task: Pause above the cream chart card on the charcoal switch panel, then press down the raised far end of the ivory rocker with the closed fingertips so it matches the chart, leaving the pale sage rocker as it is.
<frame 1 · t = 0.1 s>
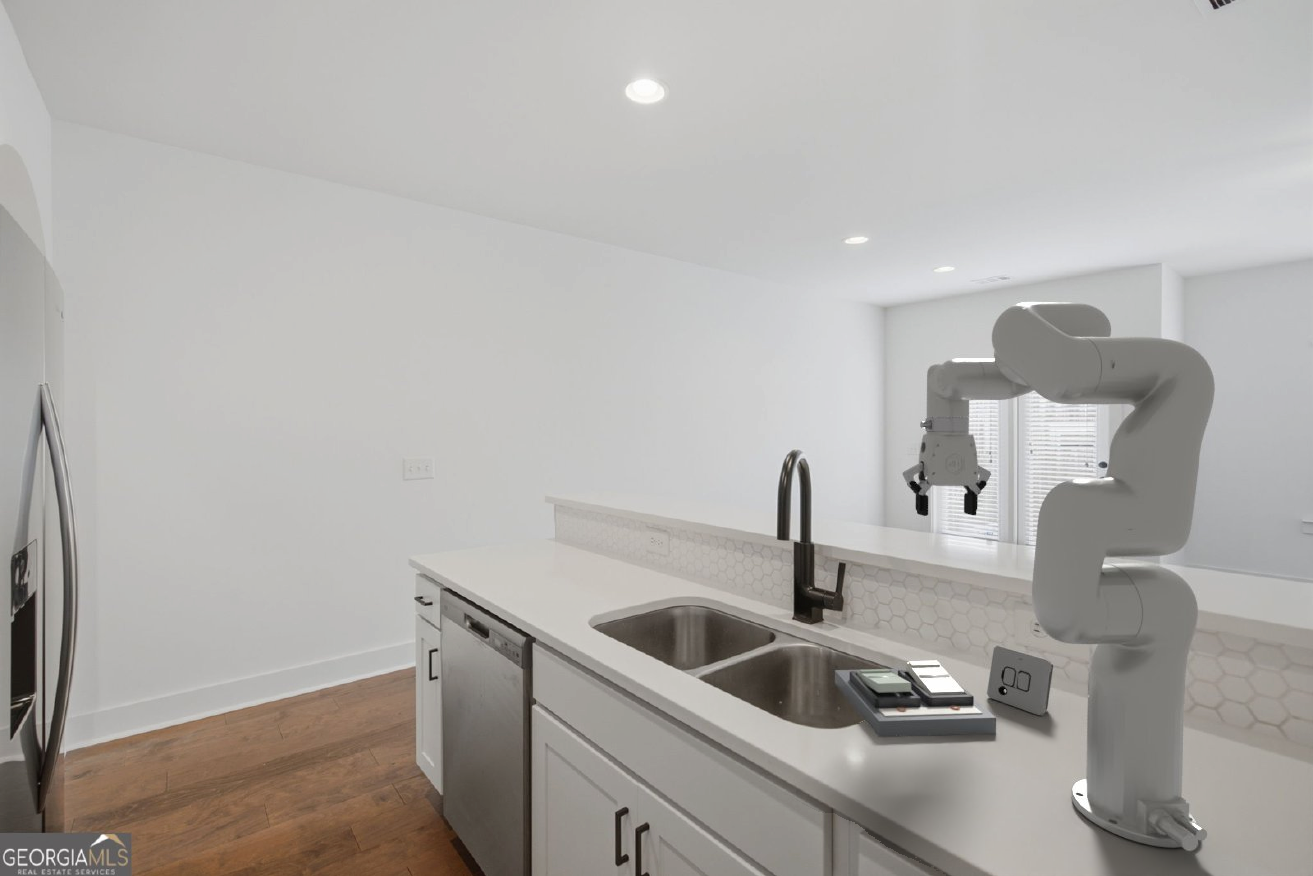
hand: (946, 514, 122), 31 cm above the worktop, tool pointing down, fingers open, 9 cm apart
rocker ivory: (933, 679, 109), point 5 cm above the worktop, hinge at -10.0°
rocker sage: (883, 680, 108), point 5 cm above the worktop, hinge at 10.0°
switch panel: (908, 706, 108), on the worktop
electrical switch: (1019, 704, 110), on the worktop
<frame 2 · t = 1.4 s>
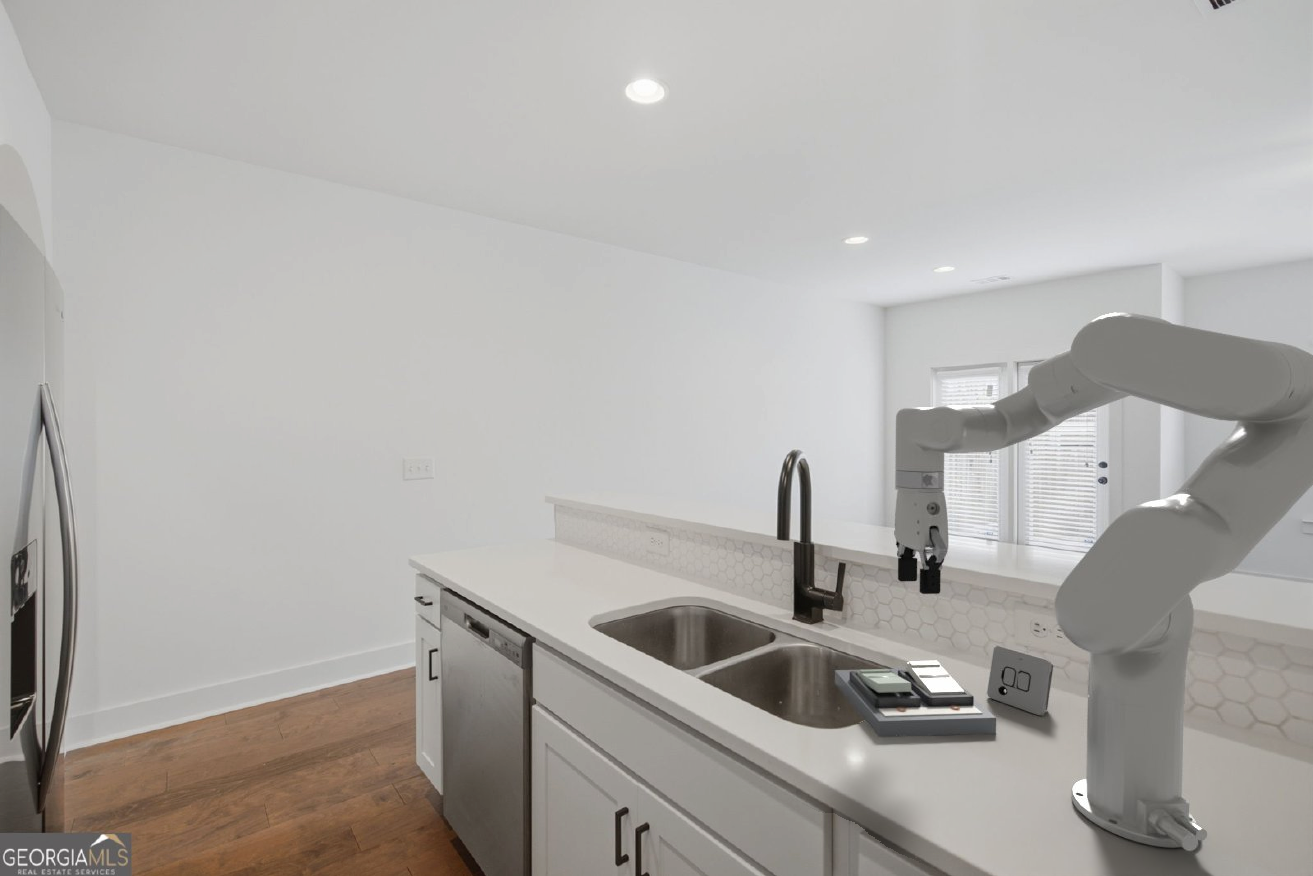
hand: (918, 586, 105), 22 cm above the worktop, tool pointing down, fingers open, 7 cm apart
nothing on the worktop moved.
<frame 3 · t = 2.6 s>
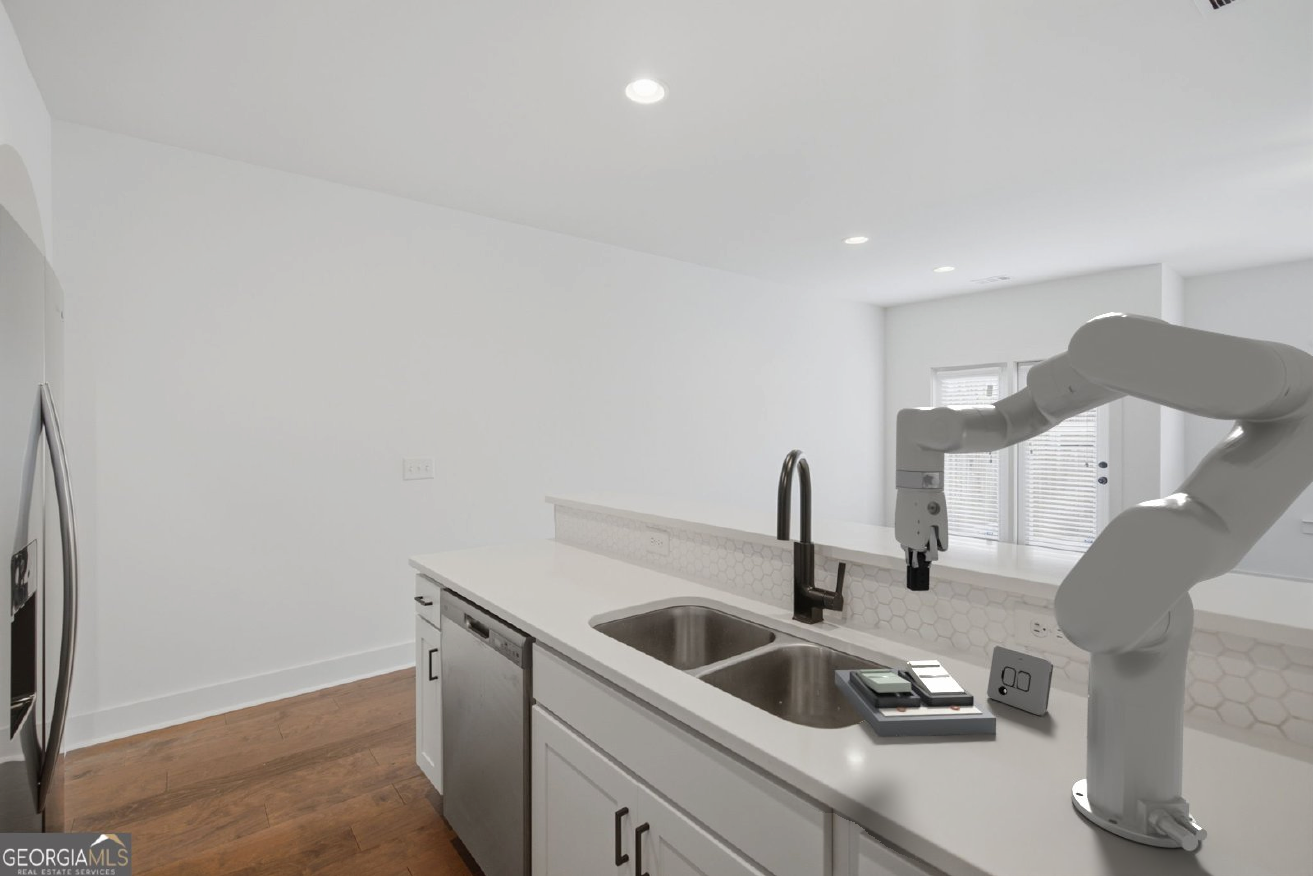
hand: (917, 589, 105), 21 cm above the worktop, tool pointing down, fingers closed
nothing on the worktop moved.
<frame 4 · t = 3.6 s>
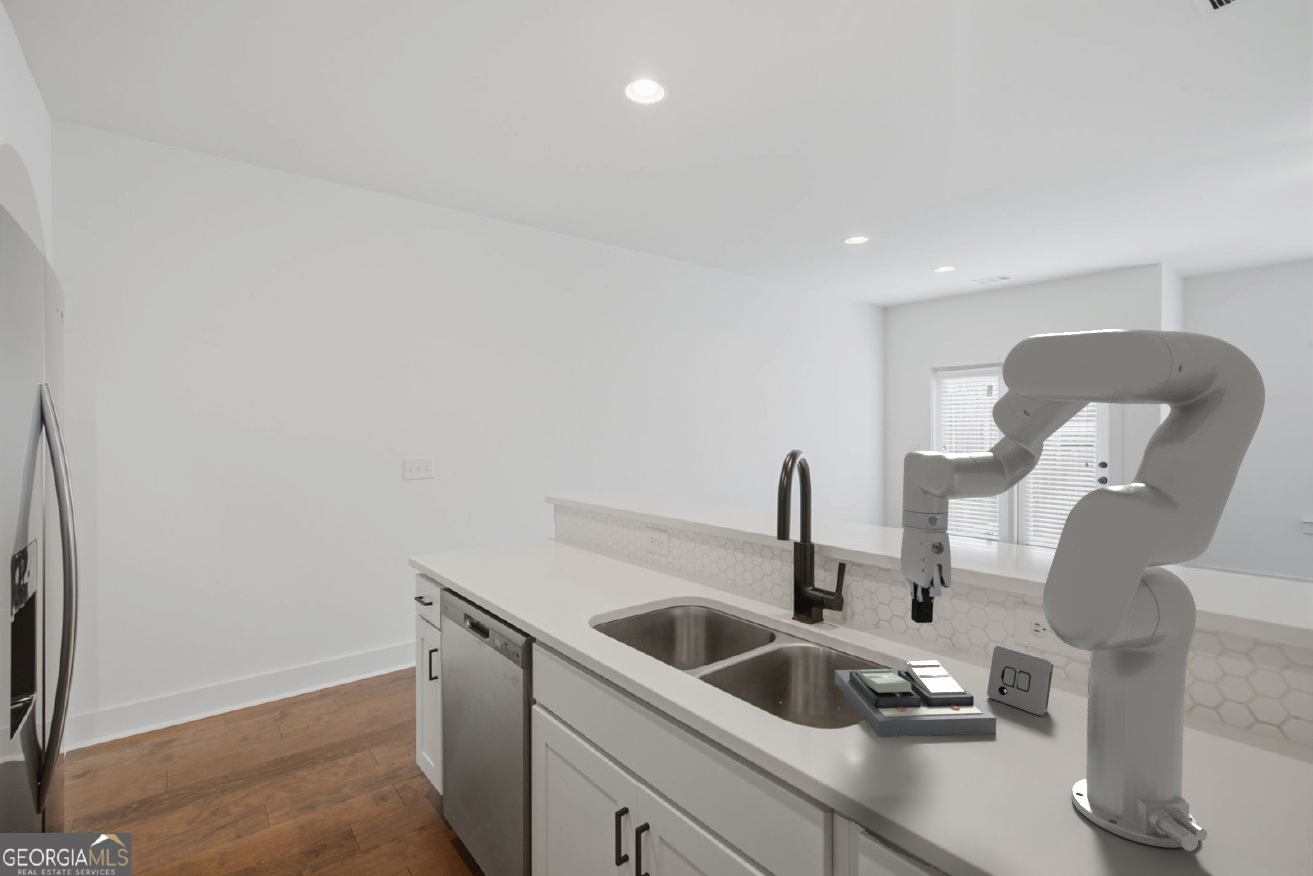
hand: (921, 621, 113), 13 cm above the worktop, tool pointing down, fingers closed
nothing on the worktop moved.
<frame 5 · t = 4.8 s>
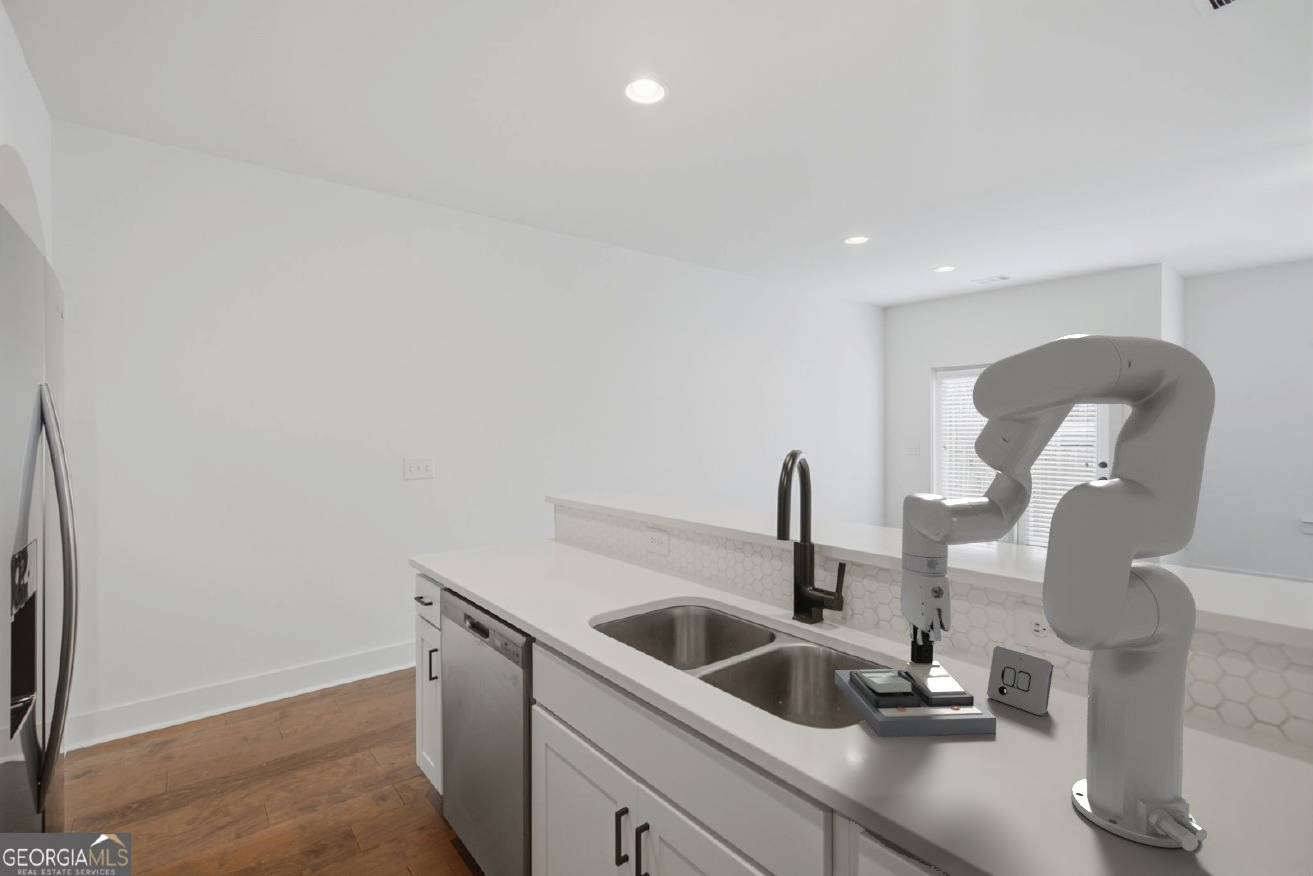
hand: (921, 663, 113), 6 cm above the worktop, tool pointing down, fingers closed
rocker ivory: (933, 679, 109), point 5 cm above the worktop, hinge at -9.0°, touching gripper
everything else where it was.
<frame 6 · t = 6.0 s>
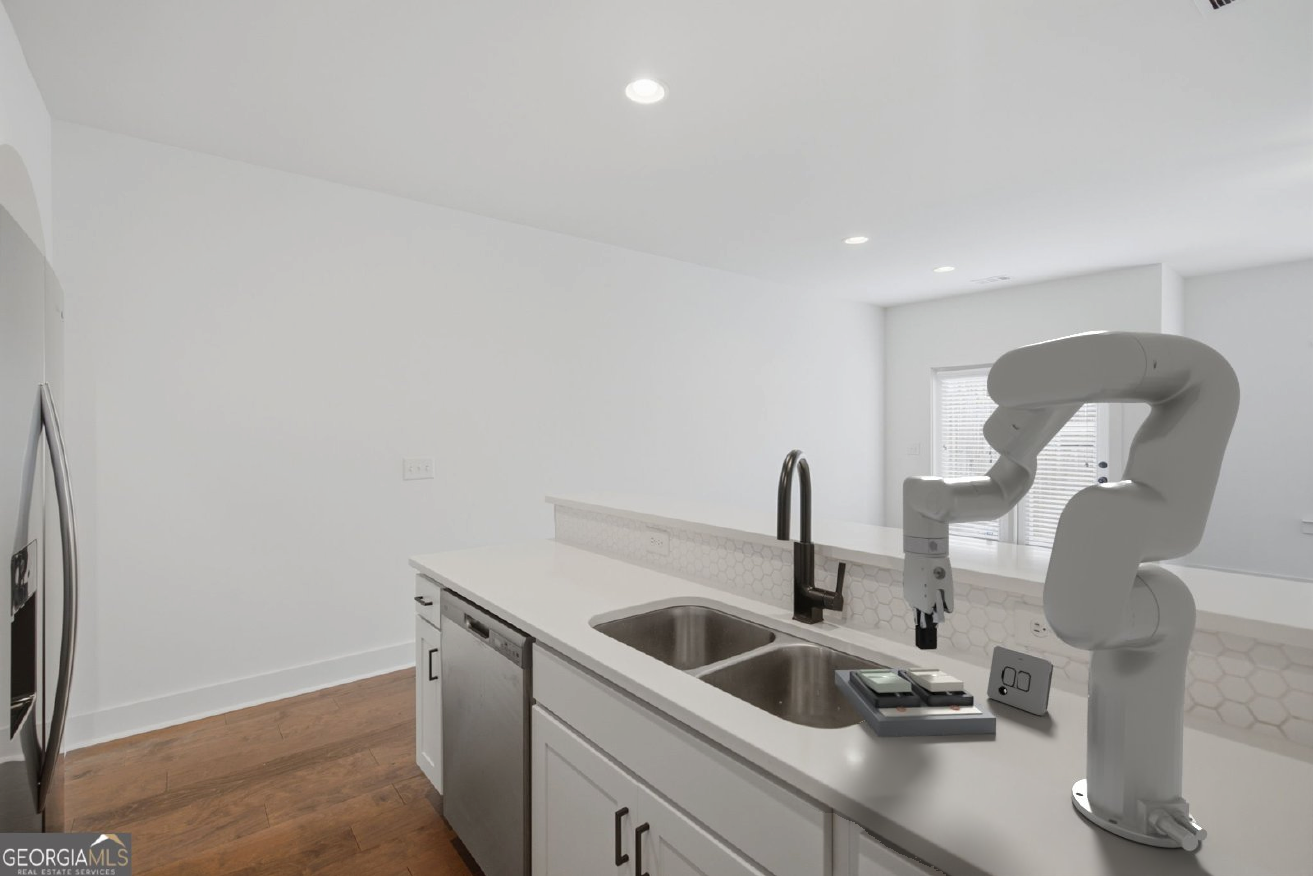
hand: (926, 647, 112), 9 cm above the worktop, tool pointing down, fingers closed
rocker ivory: (933, 679, 109), point 5 cm above the worktop, hinge at 8.6°
everything else where it was.
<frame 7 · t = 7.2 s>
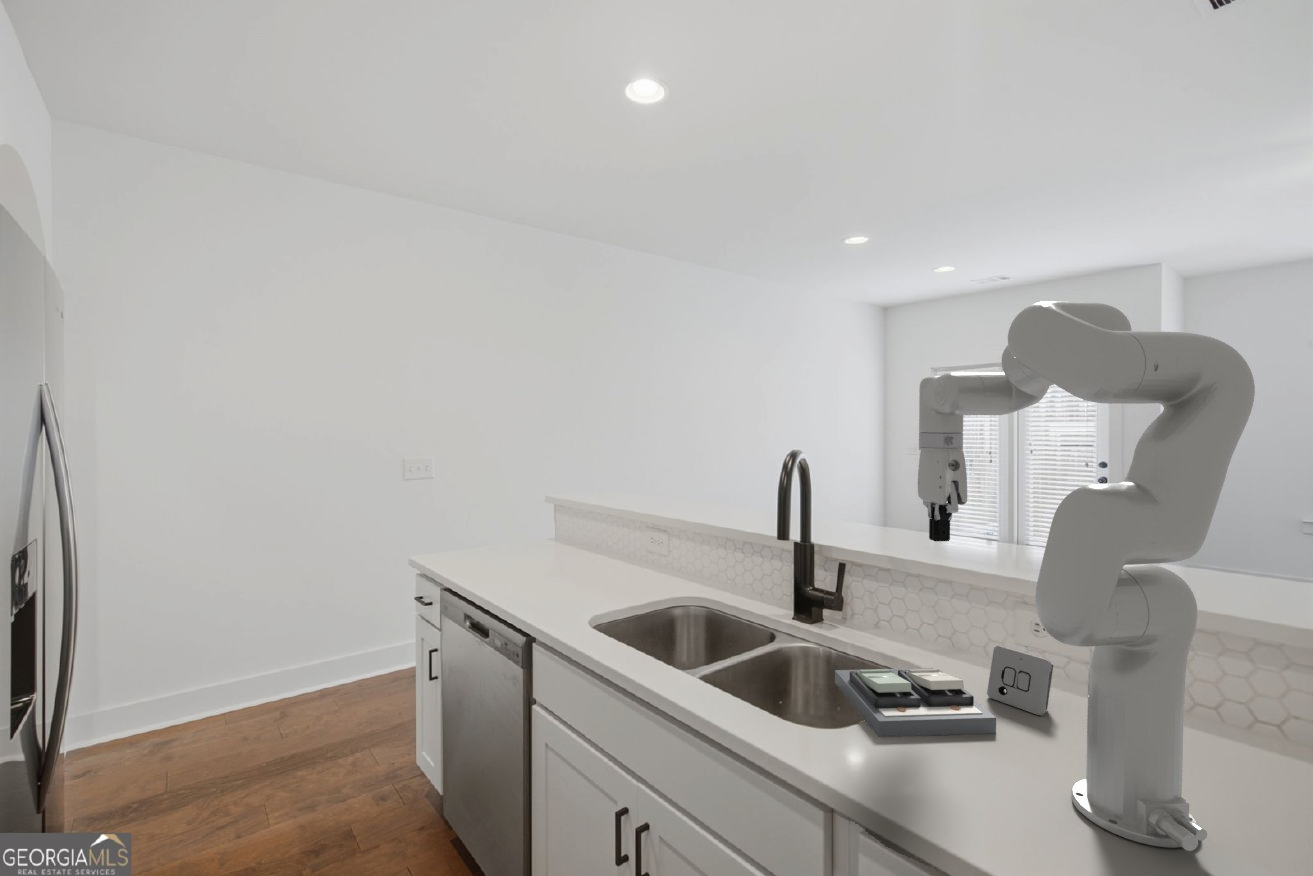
hand: (939, 540, 117), 27 cm above the worktop, tool pointing down, fingers closed
rocker ivory: (933, 679, 109), point 5 cm above the worktop, hinge at 12.5°
everything else where it was.
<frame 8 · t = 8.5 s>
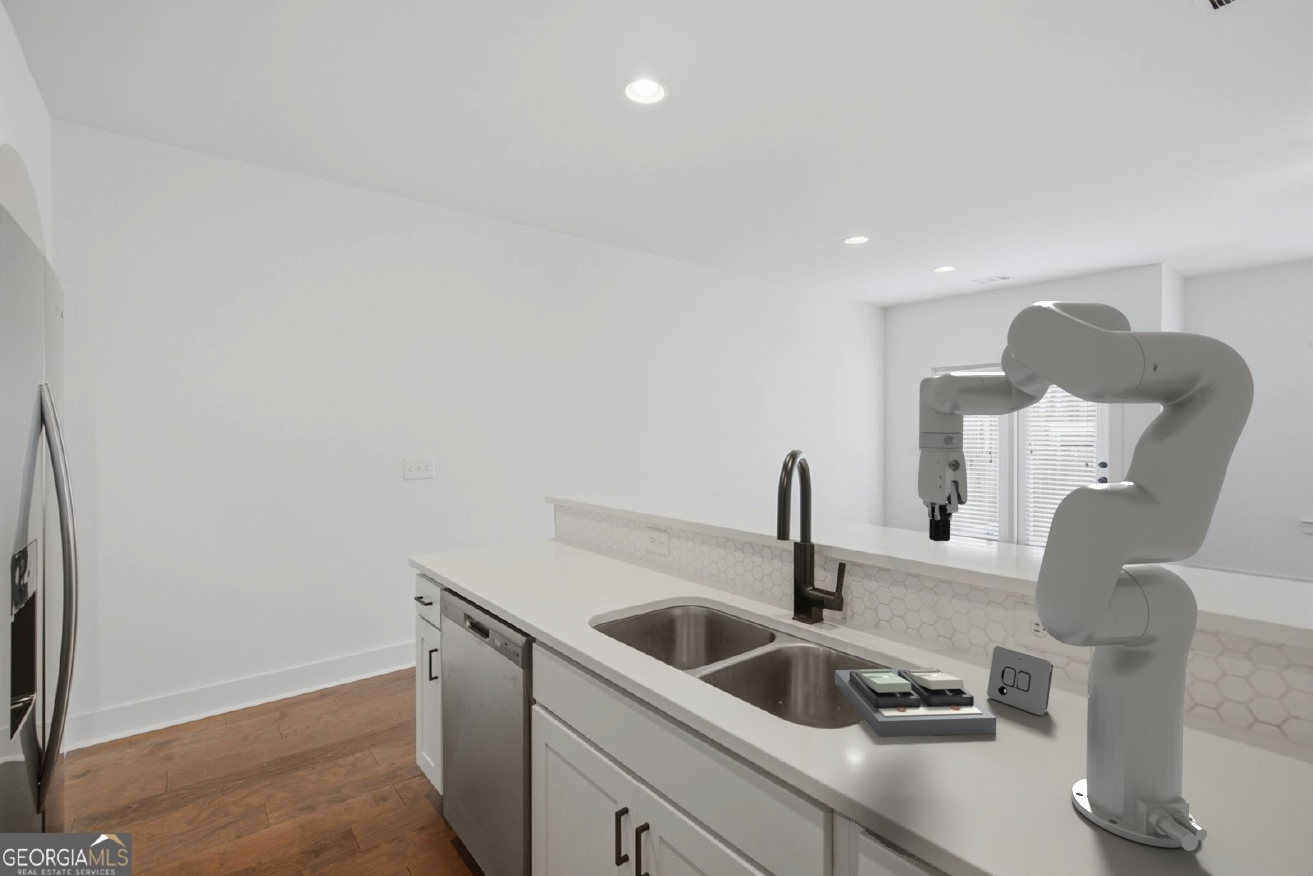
hand: (939, 540, 117), 27 cm above the worktop, tool pointing down, fingers closed
rocker ivory: (933, 679, 109), point 5 cm above the worktop, hinge at 13.4°
everything else where it was.
at the end: rocker ivory at +13° (first picture: -10°); rocker sage at +10° (first picture: +10°) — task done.
